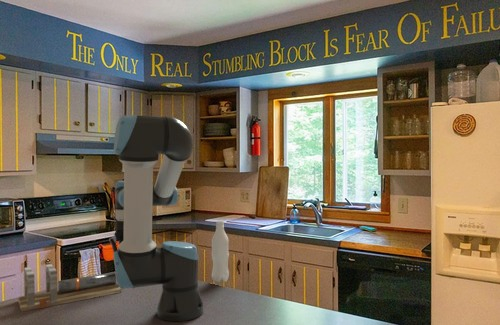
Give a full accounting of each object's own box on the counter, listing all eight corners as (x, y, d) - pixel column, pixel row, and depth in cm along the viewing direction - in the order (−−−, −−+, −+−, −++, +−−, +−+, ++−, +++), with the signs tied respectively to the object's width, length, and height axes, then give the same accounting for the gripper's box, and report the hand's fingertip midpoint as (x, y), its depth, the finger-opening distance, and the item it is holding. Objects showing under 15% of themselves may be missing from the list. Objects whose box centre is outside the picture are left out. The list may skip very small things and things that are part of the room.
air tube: (112, 283, 161) (112, 270, 160) (116, 286, 156) (116, 273, 156) (57, 293, 149) (57, 279, 149) (60, 296, 145) (60, 282, 145)
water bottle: (220, 277, 172) (219, 219, 172) (232, 280, 168) (232, 221, 167) (208, 281, 167) (207, 221, 166) (220, 285, 162) (220, 223, 162)
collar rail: (121, 292, 154) (121, 262, 153) (21, 312, 135) (21, 277, 135) (112, 284, 164) (112, 255, 164) (18, 301, 145) (18, 268, 145)
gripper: (138, 216, 168) (138, 273, 168) (106, 219, 160) (106, 278, 160) (144, 219, 161) (144, 277, 162) (111, 222, 154) (111, 283, 154)
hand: (125, 278), depth 161 cm, fingers closed
